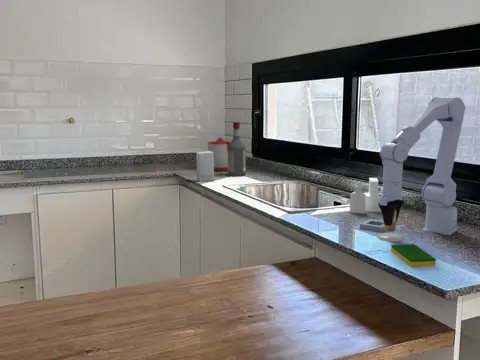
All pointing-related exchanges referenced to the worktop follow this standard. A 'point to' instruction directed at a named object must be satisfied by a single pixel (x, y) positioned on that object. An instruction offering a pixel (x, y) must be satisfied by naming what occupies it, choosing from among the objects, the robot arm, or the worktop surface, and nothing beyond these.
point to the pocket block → (372, 226)
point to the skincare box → (205, 166)
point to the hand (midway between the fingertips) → (390, 223)
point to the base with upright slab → (372, 196)
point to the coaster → (390, 237)
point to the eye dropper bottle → (357, 200)
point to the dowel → (393, 226)
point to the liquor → (236, 154)
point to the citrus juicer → (219, 154)
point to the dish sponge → (413, 255)
